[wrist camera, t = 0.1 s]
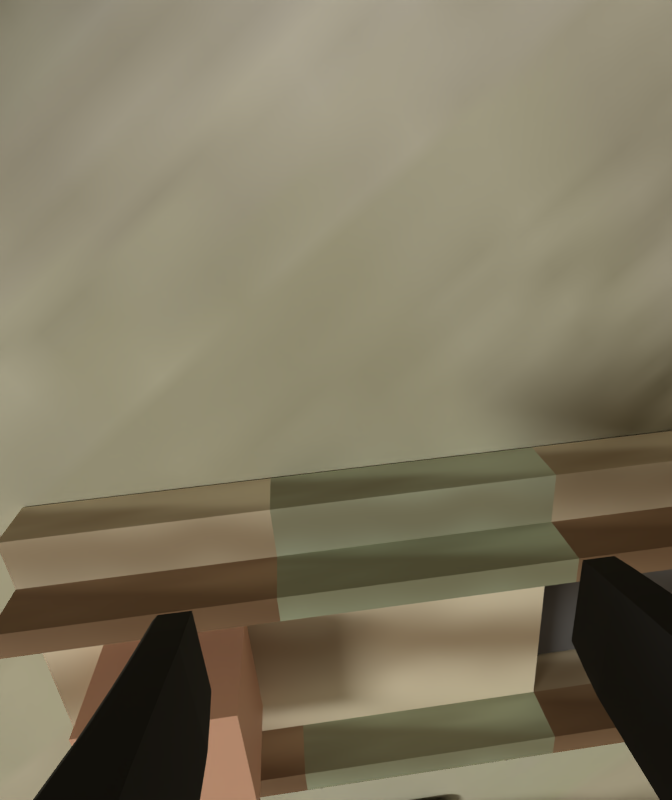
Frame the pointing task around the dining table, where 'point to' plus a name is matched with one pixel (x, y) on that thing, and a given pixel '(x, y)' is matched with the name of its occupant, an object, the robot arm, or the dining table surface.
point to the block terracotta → (229, 715)
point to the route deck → (363, 598)
